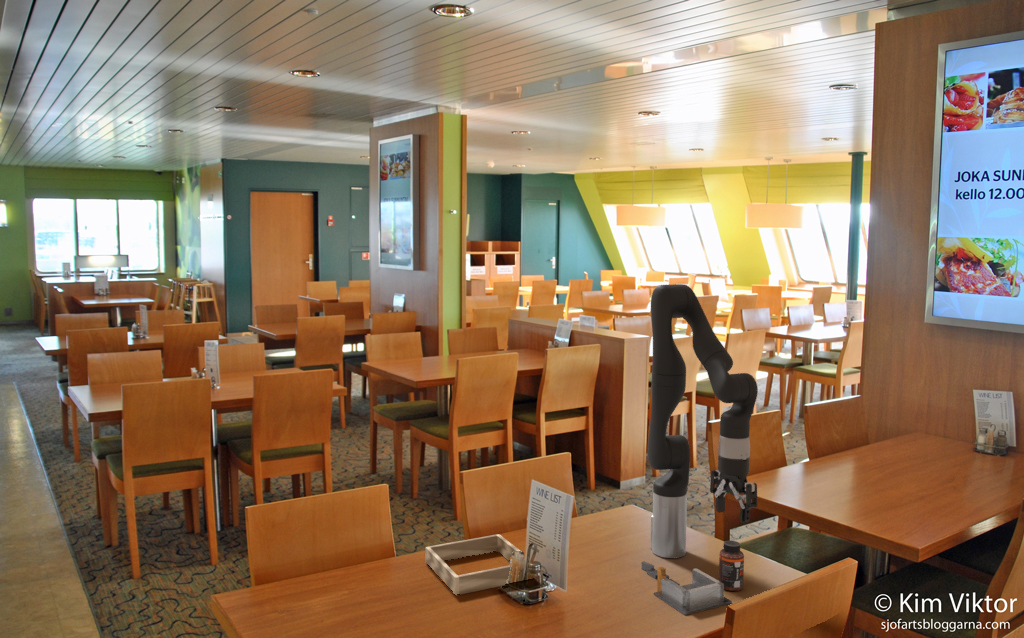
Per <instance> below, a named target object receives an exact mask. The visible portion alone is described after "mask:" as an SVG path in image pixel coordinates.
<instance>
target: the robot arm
mask: <svg viewBox="0 0 1024 638" xmlns="http://www.w3.org/2000/svg"><path fill="white" fill-rule="evenodd" d="M650 298H651V299H650V314H651V315H650V318H651V329H652V333H651V334H652V364H651V365H652V367H651V405H650V406H651V409H650V410H651V411H650V420H649V421H650V422H649V430H648V440H647V460H648V462H649V463H648V464H649V466H650V468H652V470H657V471H661V470H668V471H667V472H666V473H665V474H664V475H662V476H661V477H659V478H657V479H655V480H654V481H653V484H652V487H653V488H652V515H651V516H650V549H651V550H652V553H653V554H654V555H656V556H658V557H661V558H666V559H677V558H682V557H685V555H686V554H687V552H686V550H687V546H686V545H687V503H688V502H687V501H688V500H687V498H688V494H687V493H688V486H689V484H690V483H689V482H690V481H689V479H690V465H691V447H690V443H689V441H688V439H687V437H686V436H684V435H681V434H673V435H672V434H671V435H667V430H668V424H669V421H670V419H671V418H672V417H671V416H672V415H673V413H674V411H675V410H676V408H677V407H678V405H679V403H680V402H681V400H682V399H683V397H684V395H685V392H686V387H687V383H686V382H687V365H686V362H685V360H684V358H683V356H682V354H681V352H680V350H679V349H678V347H677V345H676V342H675V340H674V337H673V325H672V322H673V319H681V318H682V319H683V320H685V322H686V323H687V324H688V325H689V326H690V328H691V332H692V349H693V351H694V354H695V356H696V358H697V359H698V361H699V363H701V365H702V367H703V368H704V369H705V371H706V373H707V376H708V379H709V384H710V386H711V389H712V391H713V394H714V396H715V397H716V399H718V400H719V401H720V402H722V403H724V404H732V406H731V407H730V408H729V409H727V410H726V411H724V412H722V413H721V414H720V420H719V421H720V422H719V439H718V440H719V441H718V449H717V450H718V451H717V452H718V453H717V454H718V456H717V469H715V470H711V471H710V482H709V483H710V484H709V486H710V487H709V492H710V493H711V494H713V495H714V498H715V509H716V510H715V511H716V512H717V513H725V511H726V497H725V496H726V494H729V495H732V496H734V498H735V500H736V501H738V502H739V506H740V508H739V509H740V513H739V522H740V523H741V524H748V523H749V522H750V519H751V509H754V508H757V507H758V484H757V483H756V482H748V478H747V476H749V475H748V474H750V465H751V463H750V462H751V461H750V460H751V458H750V457H751V442H750V426H751V425H750V424H751V418H752V415H753V412H754V408H755V405H756V402H757V398H758V392H759V391H758V389H759V388H758V383H757V381H756V379H755V377H754V376H753V375H751V374H750V373H747V372H741V373H740V372H739V373H729V371H730V370H731V369H732V367H733V365H734V360H733V358H732V356H731V355H730V353H729V352H728V350H727V349H726V348H725V346H724V345H723V344H722V342H721V341H720V339H719V338H718V337H717V335H716V334H715V332H714V329H712V326H711V324H710V323H709V319H708V317H707V316H706V314H705V311H704V309H703V307H702V305H701V303H700V301H699V299H698V297H697V295H696V293H695V292H694V290H693V289H692V288H691V287H690V286H689V285H687V284H683V283H682V284H681V283H680V284H676V283H675V284H659V285H657V286H656V287H655V288H653V290H652V293H651V297H650Z"/></svg>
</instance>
